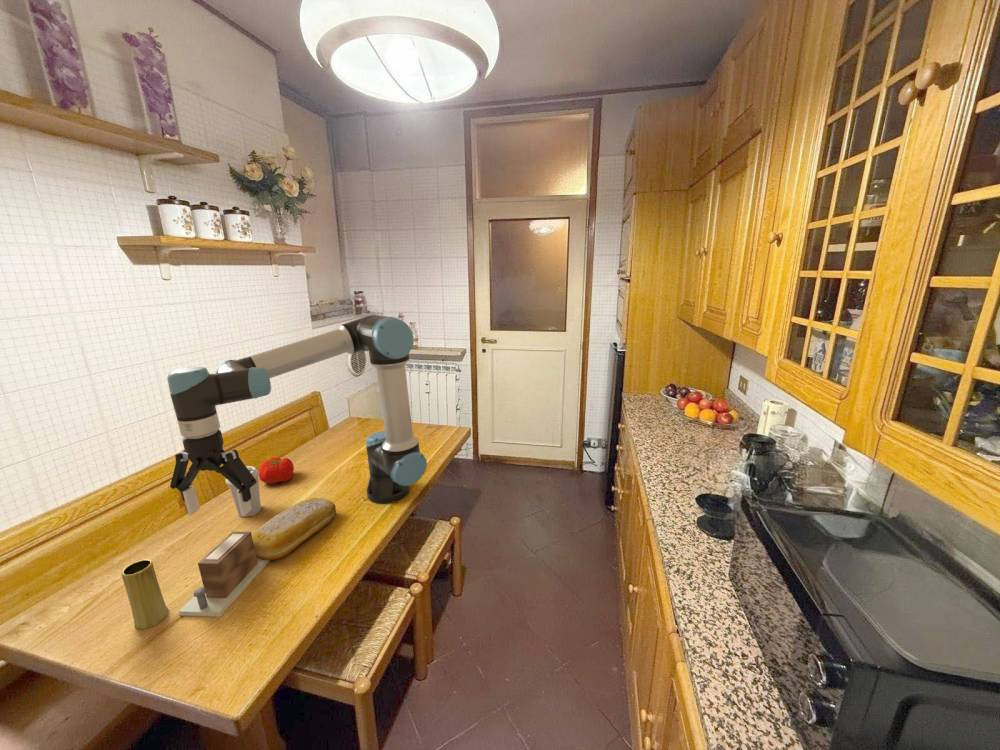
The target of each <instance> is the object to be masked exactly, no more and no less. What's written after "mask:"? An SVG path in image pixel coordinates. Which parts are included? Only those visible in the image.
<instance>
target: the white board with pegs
mask: <svg viewBox="0 0 1000 750" xmlns="http://www.w3.org/2000/svg"><path fill="white" fill-rule="evenodd" d="M256 558H257V563H258V564H257V565H256V566H255V567H254V568H253V569H252V570H251V571H250V573H249V574H248V575H247V576H246V577H245V578H244V579H243V580H242V581H241V582H240V583H239V585H238V586H237V587H236V588H235V589H234V590H233V591H232V592H231V593H230V594H229V596H228V597H227V598H206V594H205V593H206V588H205V587H204V586H202V587H200V588H197V589H196V590H194V591H193V593H192V594H193V597H192V598H191V599H190V600H189V601H188V602H187V603H186V604H185V605H184V606H183V607H182V608H180V609H179V610H178V613H179V616H183V617H184V616H185V617H187V616H188V617H213V618H214V617H216V618H218V617H219V618H220V617H221V616H222V615H223V614H224V613H225V612H226V611H227V610H228V608H230V606H232V604H233V603H234V601H235V600H237V598H238V597H239V596H240V595H241V593H242V592H244V591H245V589H246V588H247V587H248V586H249V585H250V583H252V581H254V579H255V578H256V577H257V576H258V575H259V573H260V572H261V571H262V570H263V569H264V568H265V567H266V566H267V565H268V563H269V562H270V561H271V560H265V559H264V560H262V559H260V558H258V557H257V556H256Z"/></svg>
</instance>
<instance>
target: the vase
mask: <svg viewBox="0 0 1000 750" xmlns="http://www.w3.org/2000/svg"><path fill="white" fill-rule="evenodd" d="M121 578H122V580H123V584H124V587H125V590H126V594H127V598H128V602H129V605H130V609H131V613H132V618H133V622H134V627H135V628H136V629H139V630H144V629H150V628H151V627H153V626H156V625H157V624H160V623H161V622H162V621H163V620H165V618H166V617H167V616H168V614H169V610H170V609H169V608H168V606H167V605H166V602H165V600H164V597H163V594H162V589H161V587H160V583H159V582H158V578H157V573H156V570H155V568H154V564H153V561H152V560H151V559H141V560H137V561H134V562H132V563H130V564H129V565H127V566H126V567H124V568H123V569H122V571H121Z"/></svg>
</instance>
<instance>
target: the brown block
mask: <svg viewBox="0 0 1000 750" xmlns="http://www.w3.org/2000/svg"><path fill="white" fill-rule="evenodd" d="M252 535H253V534H252V532H251V531H232V532H231V533H230V534H228V536H227V537H225V538H224V539H223V540H222V541H221V542H219V544H217V545H216V546H215V547H214V548H213V549H212V550H210V552H209V553H207V554H206V555H205V556H204V557H203V558H202V559H201V560H199V562H198V563H197V566H198V571H199V573H200V577H201V582H202V585H203V586H202V587H205V588H206V593H205V594H206V598H227V597H228V596H229V594H230V593H231V592H232V591H233V590H234V589H235V588H236V587H237V586H238V585H239V583H240V582H241V581H242V580H243V579H244V578H245V577H246V576H247V575H248V574H249V573H250V571H251V570H252V569H253V568H254V567H255V566H256V565H257V564H258V563H257V558H256V553H255V549H254V544H253V539H252Z"/></svg>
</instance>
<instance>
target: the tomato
mask: <svg viewBox="0 0 1000 750" xmlns="http://www.w3.org/2000/svg"><path fill="white" fill-rule="evenodd" d="M294 469H295V466H294V463H293V462H292V460H291V459H290V458H288V457H282V458H280V457H277V456H275V457H270V458H269V459H267V460H264V461H263V462H262V464H260V467H259V470H258V471H259V476H258V479H260V481H261V482H263V483H264V484H270V485H271V484H272V485H274V484H278V483H279V482H287V481H289V480H290V479H292V477H293V476H294Z"/></svg>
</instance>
